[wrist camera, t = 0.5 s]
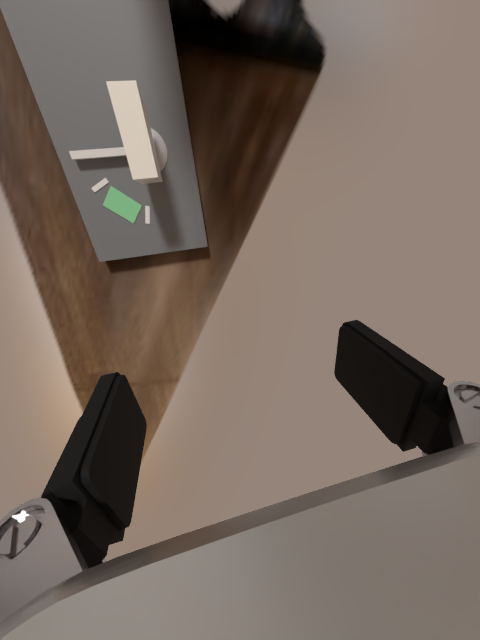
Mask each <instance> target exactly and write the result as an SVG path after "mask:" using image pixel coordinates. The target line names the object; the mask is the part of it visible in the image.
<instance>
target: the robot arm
mask: <svg viewBox="0 0 480 640" xmlns="http://www.w3.org/2000/svg"><path fill="white" fill-rule="evenodd" d="M335 377H336V379H337V380H338V381H339V382H340V383H341V385H342V386H343V387H344V388H345V389H346V391H347V392H348V393H349V394H350V395H351V396H352V397H353V399H354V400H355V401H356V402H357V403H358V404H359V405H360V407H361V408H362V409H363V410H364V411H365V412H366V414H367V415H368V416H369V417H370V418H371V419H372V421H373V422H374V423H375V424H376V425H377V426H378V427H379V429H380V430H381V431H382V432H383V433H384V434H385V436H386V437H387V438H388V439H389V440H390V441H391V442H392V443H394V444H397V445H398V446H399V447H400V449H401V450H402V451H407V450H410V449H413V448H416V446H418V447H419V448H420V449H421V450H422V454H423V457H420V458H417V459H414V460H410V461H407V462H404V463H401V464H398V465H395V466H392V467H389V468H385V469H382V470H379V471H376V472H373V473H369V474H366V475H363V476H360V477H357V478H354V479H351V480H348V481H345V482H341V483H338V484H335V485H332V486H329V487H326V488H323V489H320V490H317V491H314V492H310V493H307V494H304V495H301V496H298V497H295V498H292V499H289V500H286V501H283V502H280V503H277V504H273V505H270V506H267V507H264V508H261V509H258V510H255V511H252V512H249V513H246V514H243V515H240V516H237V517H234V518H231V519H228V520H225V521H222V522H219V523H216V524H213V525H210V526H207V527H204V528H201V529H198V530H195V531H192V532H188V533H186V534H182V535H179V536H176V537H173V538H171V539H168V540H165V541H162V542H159V543H157V544H154V545H151V546H148V547H145V548H142V549H139V550H136V551H134V552H131V553H128V554H125V555H122V556H120V557H117V558H114V559H112V560H109V561H107V562H106V560H105V559H104V558H105V556H106V555H107V551H108V546H109V545H110V544H113V543H117V542H119V541H123V537H124V531H125V528H126V527H129V525H130V523H131V518H132V512H133V506H134V500H135V494H136V488H137V482H138V476H139V470H140V464H141V458H142V452H143V446H144V440H145V434H146V420H145V417H144V415H143V413H142V411H141V409H140V407H139V404H138V402H137V400H136V398H135V396H134V394H133V391H132V389H131V387H130V385H129V383H128V380H127V378H126V376H125V375H120V374H119V373H118V372H116V373H112V374H107V375H103V376H101V377H100V379H99V381H98V383H97V385H96V387H95V389H94V392H93V394H92V396H91V398H90V400H89V402H88V404H87V406H86V408H85V410H84V412H83V415H82V416H81V417H80V419H79V420H78V422H77V424H76V426H75V428H74V430H73V432H72V434H71V436H70V438H69V441H68V443H67V444H66V447H65V449H64V451H63V453H62V455H61V457H60V459H59V461H58V463H57V465H56V467H55V469H54V471H53V473H52V475H51V477H50V479H49V481H48V484H47V486H46V488H45V490H44V492H43V494H42V496H41V498H37V499H32V500H30V501H27V502H25V503H23V504H21V505H19V506H18V507H17V508H15V509H14V510H12V511H11V512H9V513H8V514H7V515H6V516H5V517H4V518H3V519H2V520H1V521H0V640H480V385H479V384H476V383H472V382H465V381H457V382H453V383H450V385H449V386H448V387H447V386H445V385H443V382H444V378H443V377H442V376H440V375H439V374H437V373H436V372H434V371H433V370H431V369H430V368H428V367H427V366H425V365H424V364H422V363H421V362H419V361H418V360H416V359H415V358H413V357H412V356H410V355H409V354H407V353H406V352H405V351H403V350H402V349H400V348H398V347H397V346H396V345H394V344H392V343H391V342H390V341H388V340H387V339H385V338H384V337H382V336H380V335H379V334H378V333H376V332H375V331H373V330H372V329H370V328H369V327H367V326H366V325H364V324H363V323H361V322H360V321H358V320H355V321H349V322H345V323H343V325H342V327H340V329H339V337H338V346H337V355H336V363H335Z"/></svg>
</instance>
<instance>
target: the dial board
mask: <svg viewBox="0 0 480 640" xmlns="http://www.w3.org/2000/svg"><path fill="white" fill-rule="evenodd" d="M0 8H1V11H2V13H3V16H4V18H5V21H6V23H7V26H8V29H9V31H10V34H11V36H12V39H13V41H14V44H15V47H16V49H17V52H18V54H19V57H20V59H21V62H22V65H23V67H24V70H25V72H26V75H27V77H28V80H29V83H30V85H31V88H32V90H33V93H34V95H35V98H36V100H37V103H38V106H39V108H40V111H41V113H42V116H43V118H44V121H45V124H46V126H47V129H48V131H49V134H50V136H51V139H52V142H53V144H54V147H55V149H56V152H57V154H58V157H59V160H60V162H61V165H62V167H63V170H64V172H65V175H66V177H67V180H68V183H69V185H70V188H71V190H72V193H73V195H74V198H75V201H76V203H77V206H78V208H79V211H80V213H81V216H82V219H83V221H84V224H85V226H86V229H87V231H88V234H89V237H90V239H91V242H92V244H93V247H94V249H95V252H96V255H97V257H98V260H99V262H103V261H110V260H117V259H124V258H131V257H138V256H145V255H152V254H159V253H166V252H173V251H181V250H188V249H195V248H202V247H208V245H207V239H206V232H205V226H204V220H203V214H202V207H201V201H200V195H199V189H198V183H197V176H196V170H195V164H194V158H193V151H192V145H191V139H190V133H189V127H188V120H187V114H186V108H185V102H184V96H183V89H182V83H181V77H180V71H179V64H178V58H177V52H176V46H175V40H174V33H173V27H172V21H171V15H170V8H169V2H168V0H0ZM130 80H136V82H137V84H138V87H139V89H140V92H141V95H142V97H143V100H144V102H145V105H146V109H147V114H148V118H149V123H150V127H151V132H152V136H153V141H154V145H155V150H156V154H157V159H158V163H159V168H160V172H161V177H162V181H163V182H156V183H146V184H141V183H139V182H137V181H135V180H133V178H132V175H131V171H130V167H129V164H128V160H127V156H120V157H107V158H95V159H83V160H72V158H71V156H70V153H69V151H77V150H90V149H104V148H117V147H124V146H123V142H122V138H121V135H120V131H119V127H118V124H117V120H116V116H115V113H114V109H113V105H112V102H111V98H110V94H109V91H108V87H107V83H106V81H130Z"/></svg>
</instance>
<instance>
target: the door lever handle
mask: <svg viewBox="0 0 480 640" xmlns="http://www.w3.org/2000/svg"><path fill="white" fill-rule="evenodd" d="M106 83H107V87H108V91H109V94H110V98H111V102H112V105H113V109H114V113H115V116H116V120H117V124H118V127H119V131H120V135H121V138H122V142H123V146H124V147H117V148H104V149H90V150H77V151H69V153H70V156H71V158H72V160H83V159H95V158H107V157H120V156H127V160H128V164H129V167H130V171H131V175H132V178H133V180H135V181H137V182H139V183H141V184H146V183H156V182H163V181H162V177H161V172H160V168H159V163H158V159H157V154H156V150H155V145H154V141H153V136H152V132H151V127H150V123H149V118H148V114H147V109H146V105H145V102H144V100H143V97H142V95H141V92H140V89H139V87H138V84H137V82H136V80H130V81H106Z"/></svg>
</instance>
